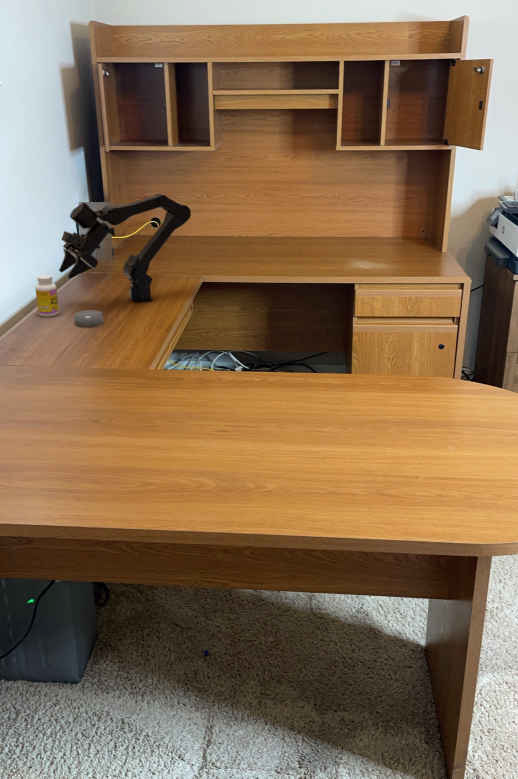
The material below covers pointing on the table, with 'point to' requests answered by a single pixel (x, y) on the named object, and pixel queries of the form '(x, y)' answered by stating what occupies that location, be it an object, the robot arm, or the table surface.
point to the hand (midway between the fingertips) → (64, 274)
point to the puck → (88, 318)
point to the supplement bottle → (46, 296)
